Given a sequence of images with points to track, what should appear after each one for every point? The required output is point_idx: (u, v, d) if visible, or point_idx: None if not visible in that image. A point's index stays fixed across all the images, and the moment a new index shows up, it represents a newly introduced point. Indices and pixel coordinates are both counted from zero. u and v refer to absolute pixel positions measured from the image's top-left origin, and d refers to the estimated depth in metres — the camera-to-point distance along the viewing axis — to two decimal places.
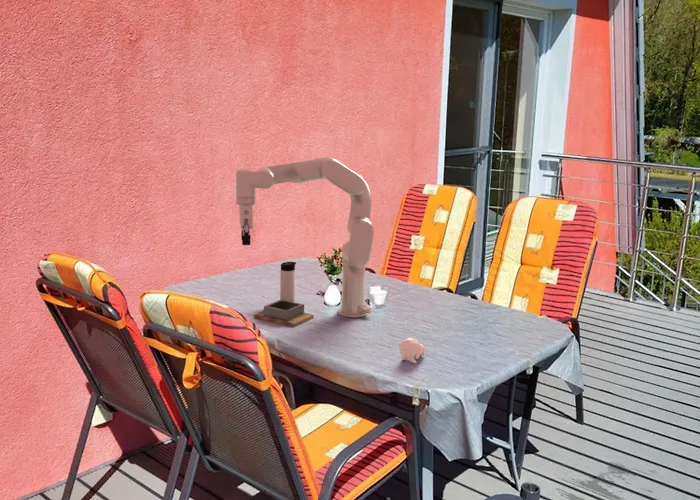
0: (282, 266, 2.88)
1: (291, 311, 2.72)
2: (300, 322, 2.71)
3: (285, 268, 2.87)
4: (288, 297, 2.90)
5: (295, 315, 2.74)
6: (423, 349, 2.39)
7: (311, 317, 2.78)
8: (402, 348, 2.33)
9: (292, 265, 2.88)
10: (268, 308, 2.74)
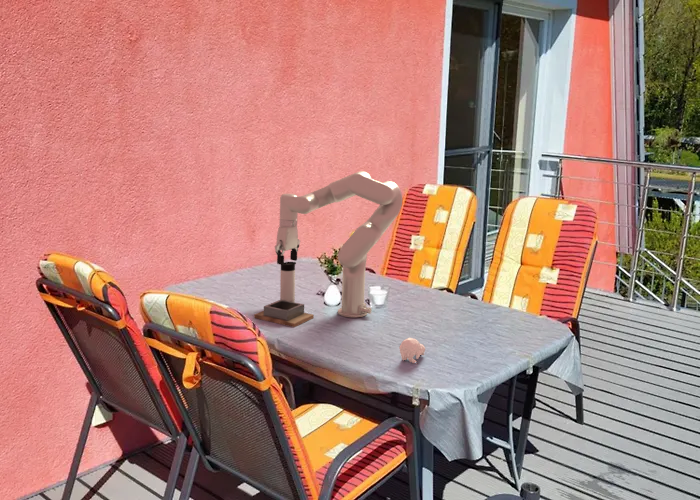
0: (282, 266, 2.88)
1: (291, 311, 2.72)
2: (300, 322, 2.71)
3: (285, 268, 2.87)
4: (288, 297, 2.90)
5: (295, 315, 2.74)
6: (423, 349, 2.39)
7: (311, 317, 2.78)
8: (402, 348, 2.33)
9: (292, 265, 2.88)
10: (268, 308, 2.74)
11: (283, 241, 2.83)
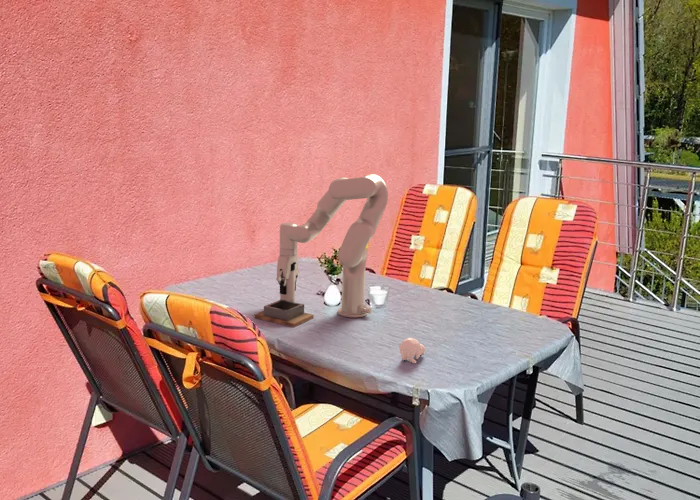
0: None
1: (291, 311, 2.72)
2: (300, 322, 2.71)
3: None
4: (288, 297, 2.90)
5: (295, 315, 2.74)
6: (423, 349, 2.39)
7: (311, 317, 2.78)
8: (402, 348, 2.33)
9: (292, 265, 2.88)
10: (268, 308, 2.74)
11: (283, 270, 2.85)
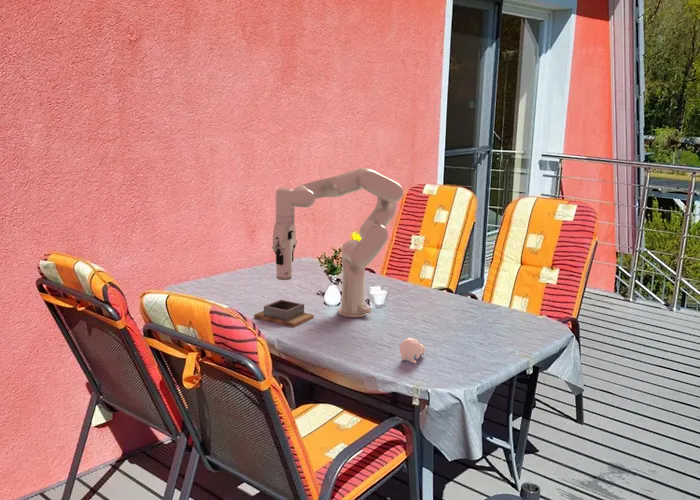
0: None
1: (291, 311, 2.72)
2: (300, 322, 2.71)
3: None
4: (285, 267, 2.71)
5: (295, 315, 2.74)
6: (423, 349, 2.39)
7: (311, 317, 2.78)
8: (402, 348, 2.33)
9: (289, 233, 2.69)
10: (268, 308, 2.74)
11: (280, 238, 2.66)
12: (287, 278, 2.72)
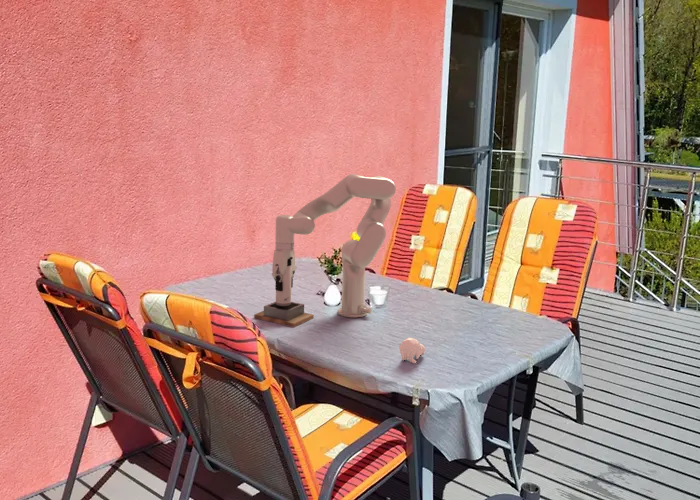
0: None
1: (291, 311, 2.72)
2: (300, 322, 2.71)
3: None
4: (284, 293, 2.73)
5: (295, 315, 2.74)
6: (423, 349, 2.39)
7: (311, 317, 2.78)
8: (402, 348, 2.33)
9: (288, 260, 2.71)
10: (268, 308, 2.74)
11: (279, 265, 2.68)
12: (286, 304, 2.74)
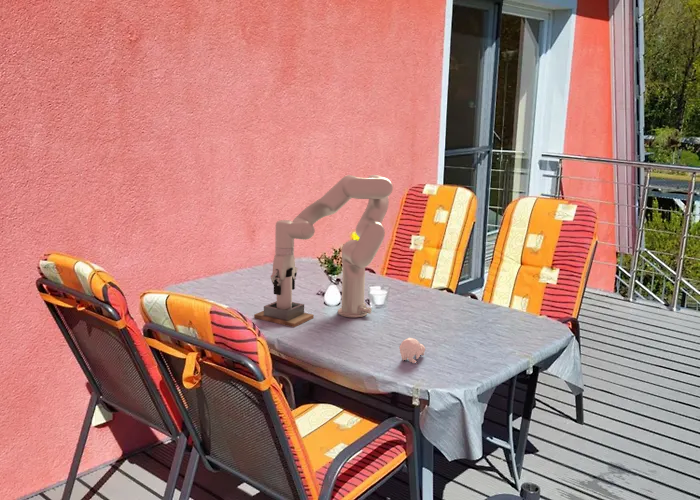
0: None
1: (291, 311, 2.72)
2: (300, 322, 2.71)
3: None
4: (285, 304, 2.74)
5: (295, 315, 2.74)
6: (423, 349, 2.39)
7: (311, 317, 2.78)
8: (402, 348, 2.33)
9: (289, 271, 2.72)
10: (268, 308, 2.74)
11: (279, 270, 2.69)
12: None
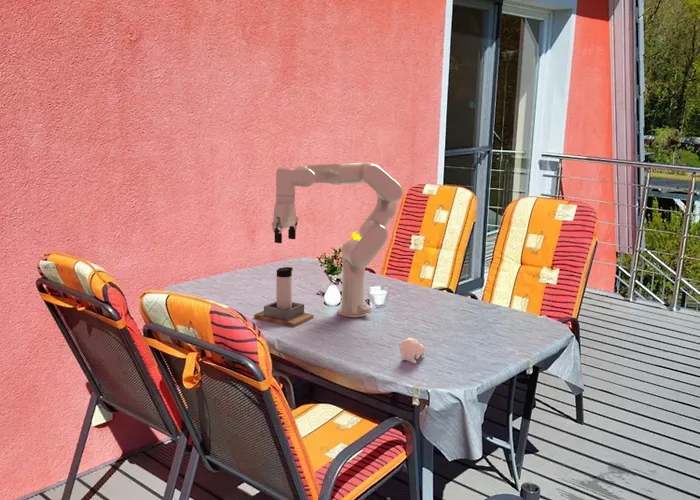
0: (278, 272, 2.72)
1: (291, 311, 2.72)
2: (300, 322, 2.71)
3: (281, 274, 2.71)
4: (285, 304, 2.74)
5: (295, 315, 2.74)
6: (423, 349, 2.39)
7: (311, 317, 2.78)
8: (402, 348, 2.33)
9: (289, 271, 2.72)
10: (268, 308, 2.74)
11: (280, 218, 2.65)
12: None
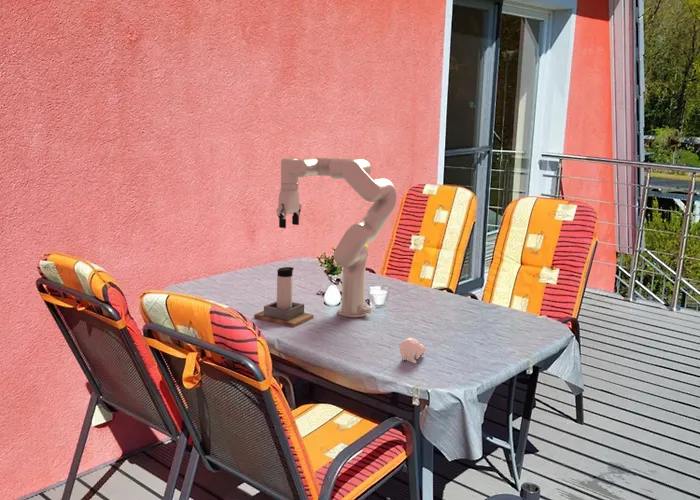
0: (279, 272, 2.72)
1: (291, 311, 2.72)
2: (300, 322, 2.71)
3: (282, 274, 2.71)
4: (285, 304, 2.74)
5: (295, 315, 2.74)
6: (423, 349, 2.39)
7: (311, 317, 2.78)
8: (402, 348, 2.33)
9: (290, 271, 2.72)
10: (268, 308, 2.74)
11: (285, 204, 2.87)
12: None
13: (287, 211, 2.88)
